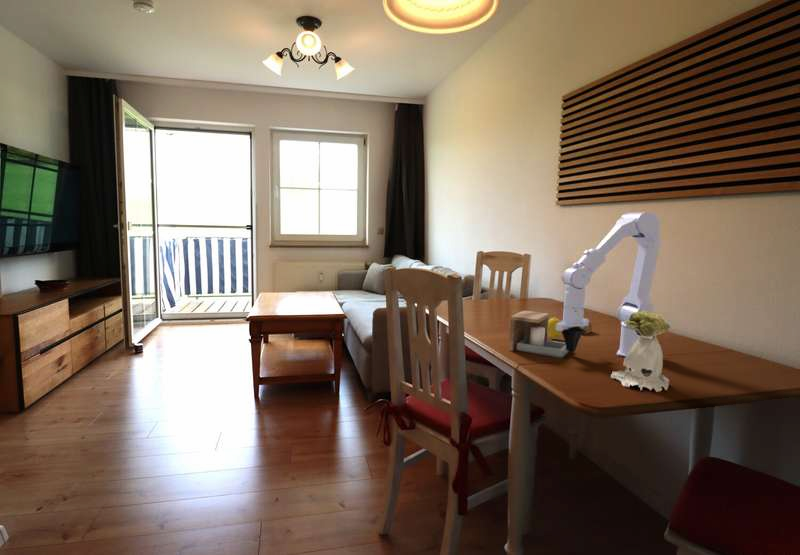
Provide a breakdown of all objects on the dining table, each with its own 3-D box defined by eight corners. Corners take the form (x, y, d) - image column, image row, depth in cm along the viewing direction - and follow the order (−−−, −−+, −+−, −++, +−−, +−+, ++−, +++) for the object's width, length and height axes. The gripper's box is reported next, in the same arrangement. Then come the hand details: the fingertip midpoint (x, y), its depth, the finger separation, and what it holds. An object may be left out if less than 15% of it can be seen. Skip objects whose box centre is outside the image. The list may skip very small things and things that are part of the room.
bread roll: (591, 340, 172) (594, 320, 174) (588, 334, 163) (591, 313, 165) (564, 336, 177) (567, 317, 179) (560, 330, 168) (563, 310, 171)
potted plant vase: (647, 374, 121) (653, 307, 119) (680, 391, 108) (687, 316, 106) (605, 374, 120) (610, 307, 118) (633, 391, 107) (639, 316, 105)
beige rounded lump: (537, 345, 146) (538, 325, 146) (546, 348, 142) (548, 328, 142) (526, 346, 145) (527, 326, 144) (535, 349, 141) (536, 329, 140)
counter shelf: (546, 346, 148) (549, 313, 146) (536, 355, 137) (538, 319, 136) (521, 342, 152) (523, 310, 151) (509, 350, 142) (511, 316, 140)
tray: (570, 351, 143) (570, 343, 142) (561, 358, 134) (562, 350, 134) (526, 343, 150) (527, 336, 150) (516, 350, 142) (516, 342, 142)
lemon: (564, 341, 154) (565, 318, 154) (548, 341, 155) (549, 318, 154) (559, 337, 160) (560, 315, 159) (543, 337, 160) (544, 315, 159)
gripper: (571, 311, 128) (568, 357, 130) (599, 307, 137) (595, 350, 138) (550, 307, 134) (547, 352, 135) (578, 303, 142) (575, 345, 144)
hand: (570, 351), depth 137 cm, fingers closed
